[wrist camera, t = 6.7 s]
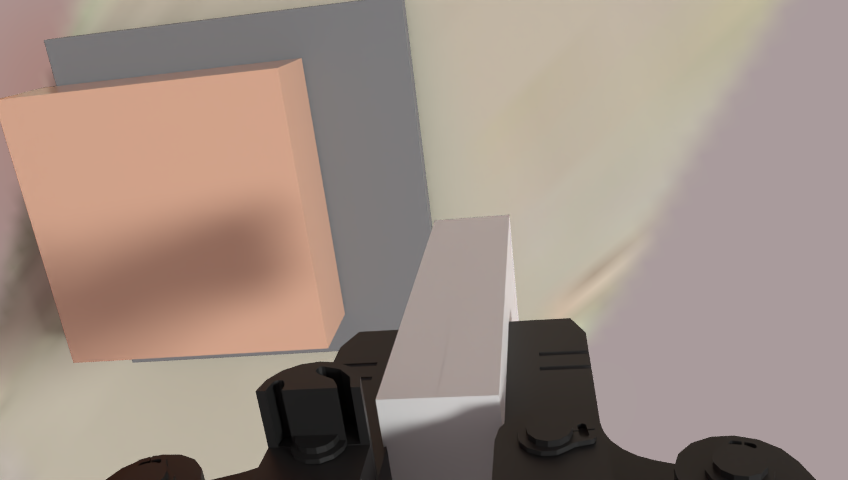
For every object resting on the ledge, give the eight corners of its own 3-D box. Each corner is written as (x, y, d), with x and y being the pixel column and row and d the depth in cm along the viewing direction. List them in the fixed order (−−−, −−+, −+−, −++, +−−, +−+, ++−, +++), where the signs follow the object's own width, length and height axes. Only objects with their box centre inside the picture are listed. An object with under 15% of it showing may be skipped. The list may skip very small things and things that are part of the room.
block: (277, 67, 22) (-7, 100, 23) (327, 348, 25) (73, 362, 26) (302, 57, 24) (45, 87, 26) (345, 312, 27) (112, 327, 28)
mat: (403, -5, 24) (401, -5, 23) (445, 337, 28) (444, 345, 27) (54, 38, 26) (43, 40, 25) (139, 355, 29) (132, 362, 29)
